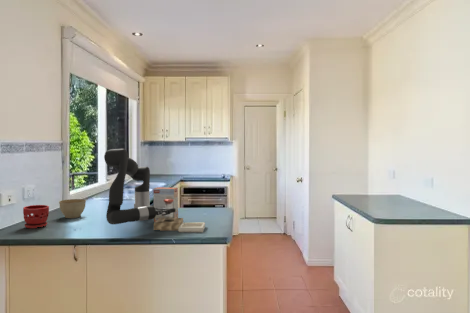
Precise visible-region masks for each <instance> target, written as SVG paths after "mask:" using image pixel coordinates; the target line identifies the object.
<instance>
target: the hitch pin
mask: <svg viewBox="0 0 470 313" xmlns="http://www.w3.org/2000/svg"><path fill="white" fill-rule="evenodd" d="M173 201H174V199H164V202H165V209H172V208H173ZM165 222H173V213H170V214H168V215H165Z"/></svg>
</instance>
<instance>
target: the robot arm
mask: <svg viewBox="0 0 470 313" xmlns="http://www.w3.org/2000/svg"><path fill="white" fill-rule="evenodd" d="M103 158H104V162H105V163H106V165H108V166H109V167H110V168H115V169H116V170H118V173H117V175H116V177H115V179H114V180H113V181H112V183H111V185H110V187H109V189H108V190H109V191H108V192H109V193H108V205H107V209H106V221H107V223H108V224H110V225H121V224H124V223H133V222H143V221H150V220H154V218H155V216H156V215H157V216H160V215H162V216H164V215H168V214H170V213H173V212H176V209H175V208H172V209H165V208H164V207H163V208H162V207H157V208H155V207H154V205H151V204H150V199H151V198H150V186H151V185H150V184H151V183H150V179H151V171H150V168H149V167H148V166H139V164H138V162H137V161H136V160H134V159H132V158H131V157H129V154H128V151H127V150H126V149H125V148H112V149H108V150H106V151H105V152H104V156H103ZM126 175H127V176H129V177H130V178H131V179H132V180H133V181H137V182H142V183H141V184H140V185H137V186H135V187H134V203H133V207H131V208H127V209H121V206H122V205H123V202H124V187H125V180H126Z"/></svg>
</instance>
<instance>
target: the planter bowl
mask: <svg viewBox="0 0 470 313" xmlns="http://www.w3.org/2000/svg"><path fill="white" fill-rule="evenodd" d="M58 203H59V209H60V211H61V213H62V215H63V216H64V218H65V219H76V218H80V217H81V216H82V214H83V212H84V210H85V208H86V203H87V200H86V199H84V198H83V199H82V198H81V199H80V198H73V199H71V198H70V199H63V200H59V201H58Z"/></svg>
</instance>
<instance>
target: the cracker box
mask: <svg viewBox="0 0 470 313" xmlns="http://www.w3.org/2000/svg"><path fill="white" fill-rule="evenodd" d="M164 199H174V201H173V208H175V209H176V212H173V218H179V190H178V187H161V186H160V187H158V186H157V187H154V188H153V206H154V207H155V208H157V207H162V208H163V207H164V208H165V202H164ZM159 218H165V215H164V216H162V215H160V216H157V215H156V216H155V218H154V219H153V222H154V223H155V222H156V221H157V220H158V219H159Z"/></svg>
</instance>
